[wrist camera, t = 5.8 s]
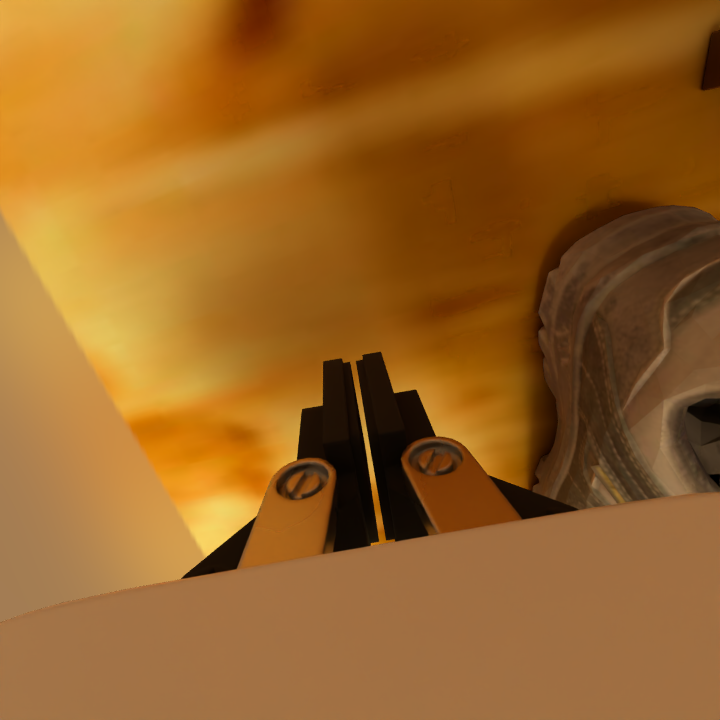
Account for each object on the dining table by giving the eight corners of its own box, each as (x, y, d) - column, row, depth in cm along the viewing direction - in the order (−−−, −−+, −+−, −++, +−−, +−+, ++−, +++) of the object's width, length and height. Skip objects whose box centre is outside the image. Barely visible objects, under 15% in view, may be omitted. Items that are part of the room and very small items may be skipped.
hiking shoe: (529, 642, 22) (883, 935, 12) (438, 265, 15) (1065, 205, 5) (620, 540, 26) (945, 695, 16) (579, 204, 19) (1093, 102, 9)
